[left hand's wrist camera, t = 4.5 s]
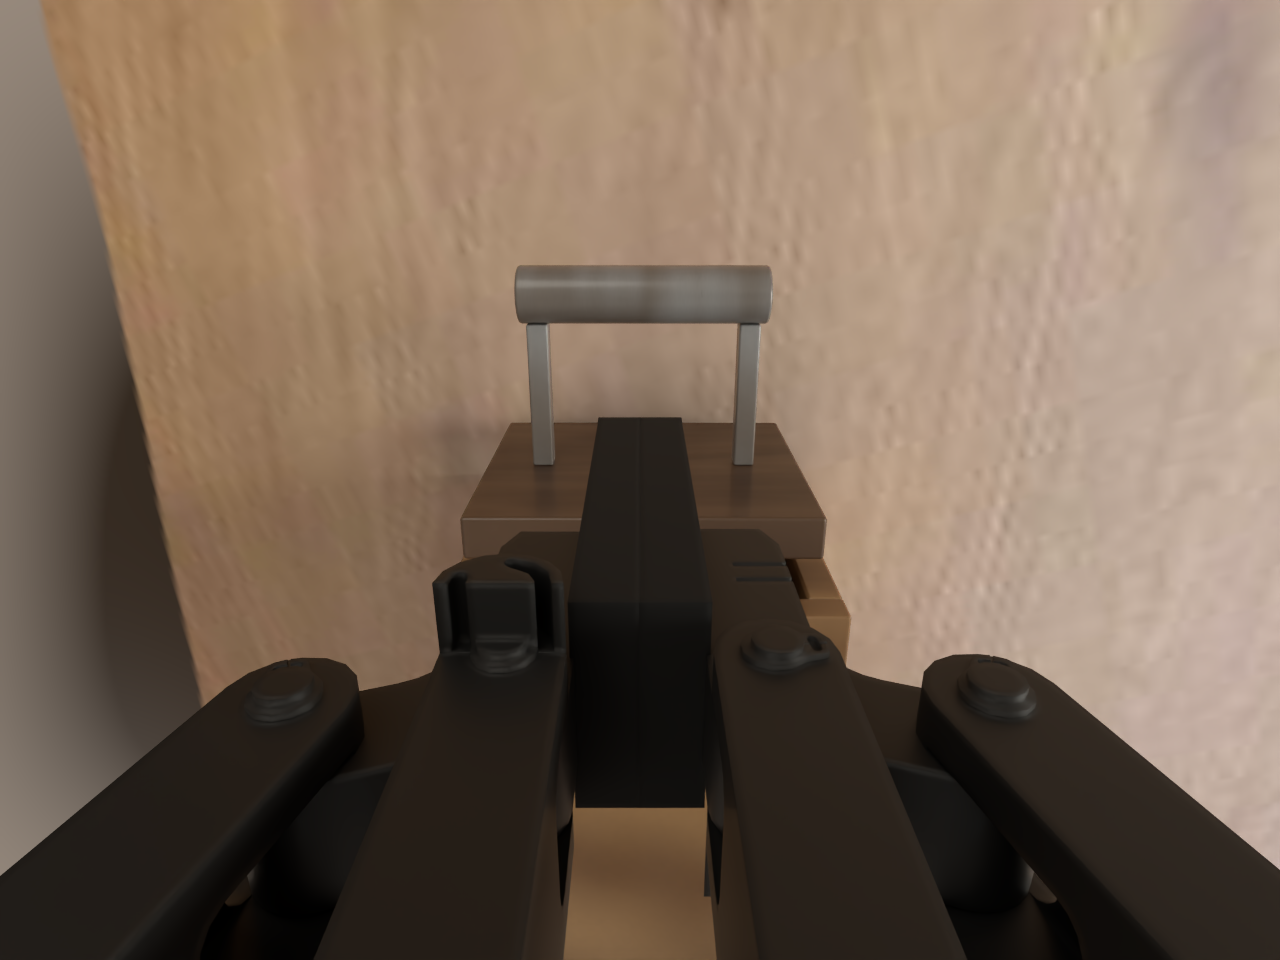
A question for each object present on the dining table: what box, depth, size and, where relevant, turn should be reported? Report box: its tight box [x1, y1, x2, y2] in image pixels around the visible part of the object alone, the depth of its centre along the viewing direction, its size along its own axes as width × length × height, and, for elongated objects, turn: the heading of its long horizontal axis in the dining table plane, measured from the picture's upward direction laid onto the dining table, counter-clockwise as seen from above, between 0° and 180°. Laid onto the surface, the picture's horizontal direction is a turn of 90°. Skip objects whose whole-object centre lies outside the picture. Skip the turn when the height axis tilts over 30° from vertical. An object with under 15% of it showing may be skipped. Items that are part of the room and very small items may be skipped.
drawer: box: [460, 265, 827, 559], centre depth 25 cm, size 21×9×8 cm, turn 0°
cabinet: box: [437, 557, 851, 960], centre depth 28 cm, size 16×11×10 cm, turn 0°
